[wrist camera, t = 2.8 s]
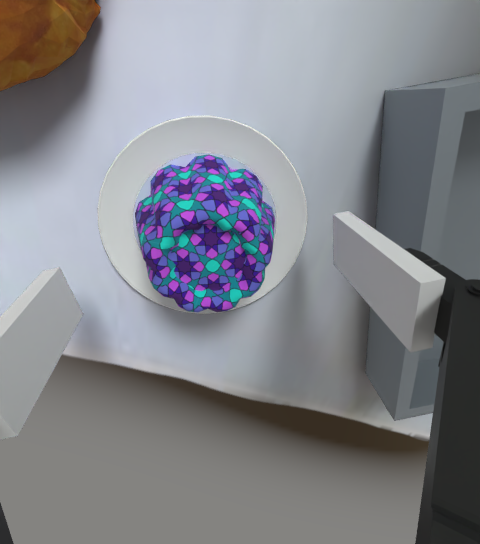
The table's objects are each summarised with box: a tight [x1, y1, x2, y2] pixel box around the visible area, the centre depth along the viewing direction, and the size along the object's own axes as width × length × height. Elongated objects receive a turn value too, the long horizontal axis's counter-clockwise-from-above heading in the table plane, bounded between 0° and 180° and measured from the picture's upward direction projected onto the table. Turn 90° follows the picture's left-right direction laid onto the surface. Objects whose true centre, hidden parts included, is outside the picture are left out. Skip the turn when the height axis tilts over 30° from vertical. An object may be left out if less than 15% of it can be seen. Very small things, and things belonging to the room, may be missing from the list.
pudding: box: [98, 116, 308, 314], centre depth 16 cm, size 12×12×5 cm
